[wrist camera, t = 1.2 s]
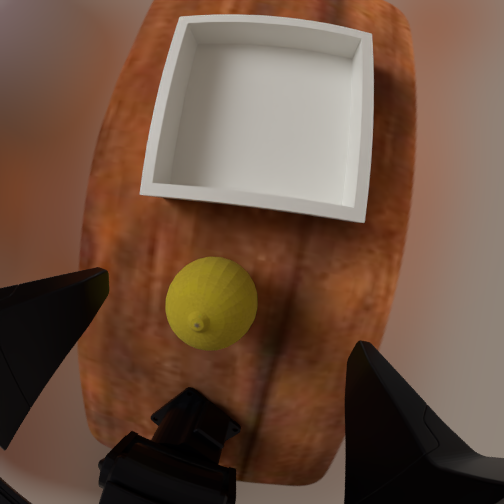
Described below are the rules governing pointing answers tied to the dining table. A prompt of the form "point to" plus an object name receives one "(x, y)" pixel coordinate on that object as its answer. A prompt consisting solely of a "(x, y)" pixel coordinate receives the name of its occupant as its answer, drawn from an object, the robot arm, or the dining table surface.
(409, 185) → the dining table surface
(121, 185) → the dining table surface
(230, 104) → the box
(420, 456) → the robot arm
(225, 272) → the lemon
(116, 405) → the dining table surface
